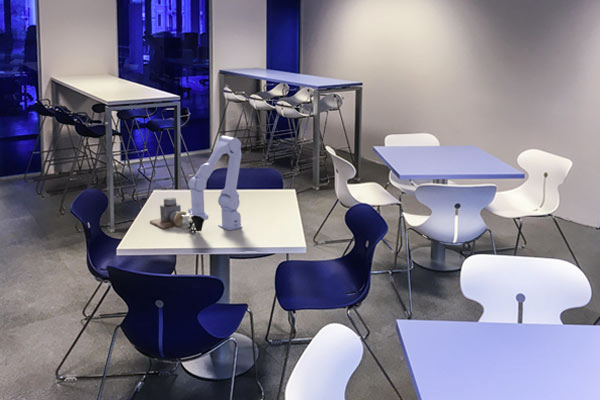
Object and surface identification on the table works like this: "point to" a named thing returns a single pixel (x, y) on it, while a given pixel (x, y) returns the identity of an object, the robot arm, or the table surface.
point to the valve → (187, 223)
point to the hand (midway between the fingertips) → (198, 230)
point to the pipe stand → (169, 215)
